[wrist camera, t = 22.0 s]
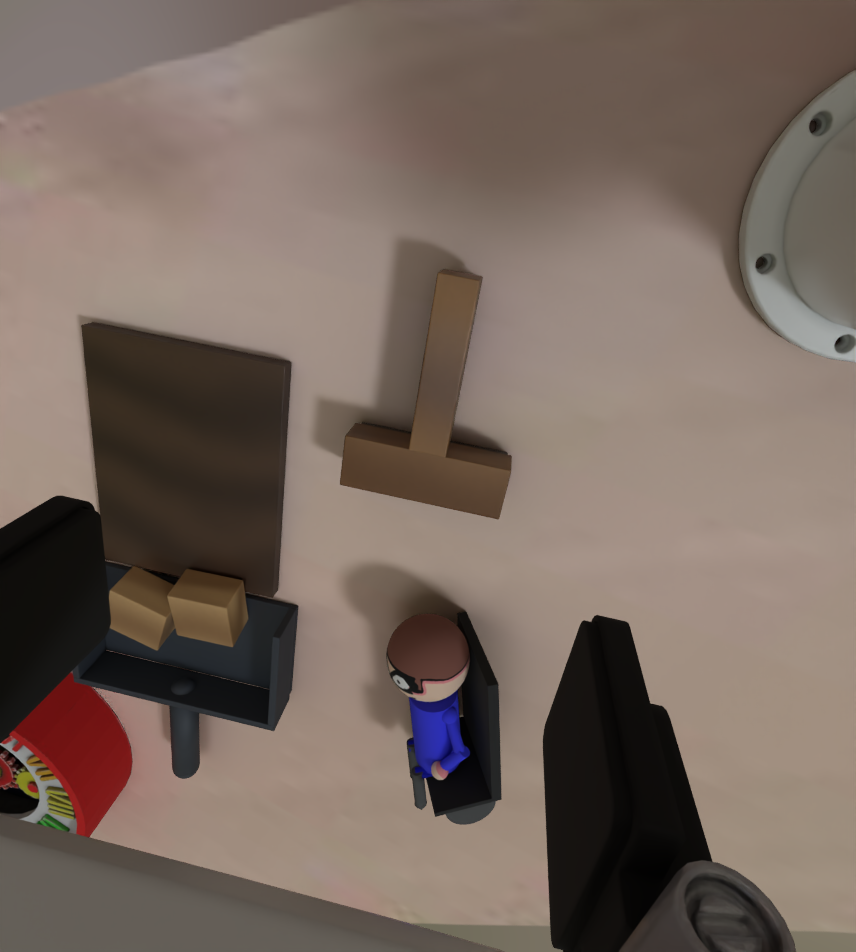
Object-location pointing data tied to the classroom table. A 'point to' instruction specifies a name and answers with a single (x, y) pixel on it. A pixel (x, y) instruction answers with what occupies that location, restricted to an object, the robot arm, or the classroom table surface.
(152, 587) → the cork chip
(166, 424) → the tray
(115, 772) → the toy clock
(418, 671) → the character figurine
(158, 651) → the dustpan
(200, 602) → the cork chip
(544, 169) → the classroom table surface
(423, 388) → the brush
